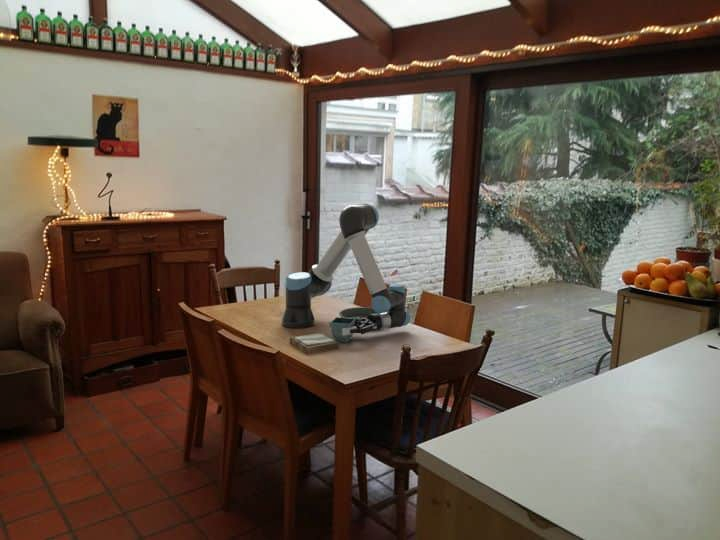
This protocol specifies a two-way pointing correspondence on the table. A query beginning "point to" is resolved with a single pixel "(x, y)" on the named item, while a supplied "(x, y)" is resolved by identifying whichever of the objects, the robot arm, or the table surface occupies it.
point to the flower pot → (339, 325)
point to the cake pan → (356, 312)
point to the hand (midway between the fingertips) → (335, 328)
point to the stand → (314, 342)
